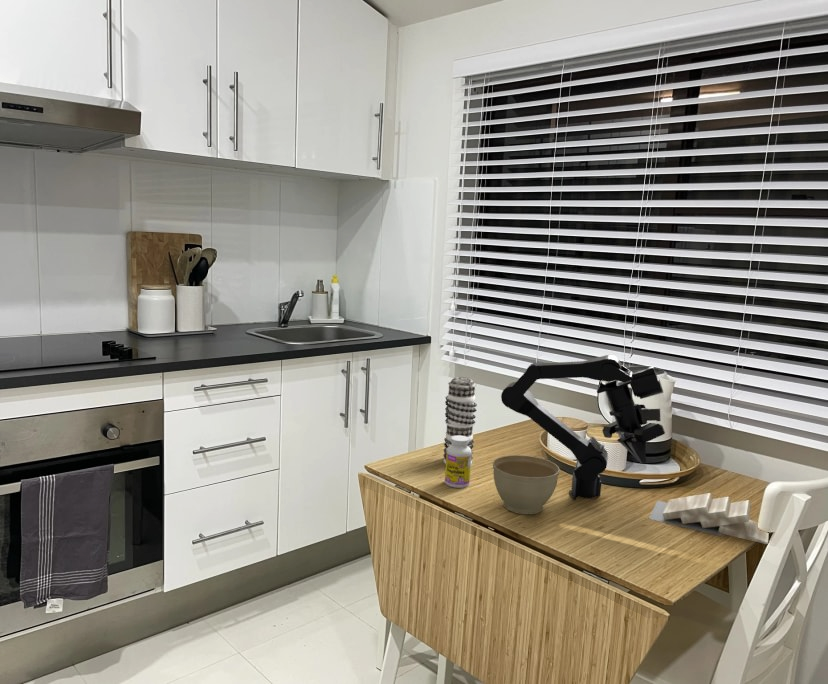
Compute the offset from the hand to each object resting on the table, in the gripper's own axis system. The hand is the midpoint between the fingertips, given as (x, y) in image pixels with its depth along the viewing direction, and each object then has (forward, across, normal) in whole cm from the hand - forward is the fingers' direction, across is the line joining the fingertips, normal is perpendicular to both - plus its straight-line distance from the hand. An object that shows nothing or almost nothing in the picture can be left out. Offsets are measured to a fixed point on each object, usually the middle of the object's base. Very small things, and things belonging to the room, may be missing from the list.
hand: (643, 462), depth 164 cm
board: (+15, -7, -2) cm, 17 cm away
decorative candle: (-10, +39, +35) cm, 53 cm away
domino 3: (+15, -10, -5) cm, 18 cm away
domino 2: (+13, -7, -2) cm, 15 cm away
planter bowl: (0, +7, +32) cm, 32 cm away
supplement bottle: (-8, +23, +41) cm, 48 cm away
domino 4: (+16, -12, -7) cm, 21 cm away
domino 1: (+12, -4, 0) cm, 12 cm away
